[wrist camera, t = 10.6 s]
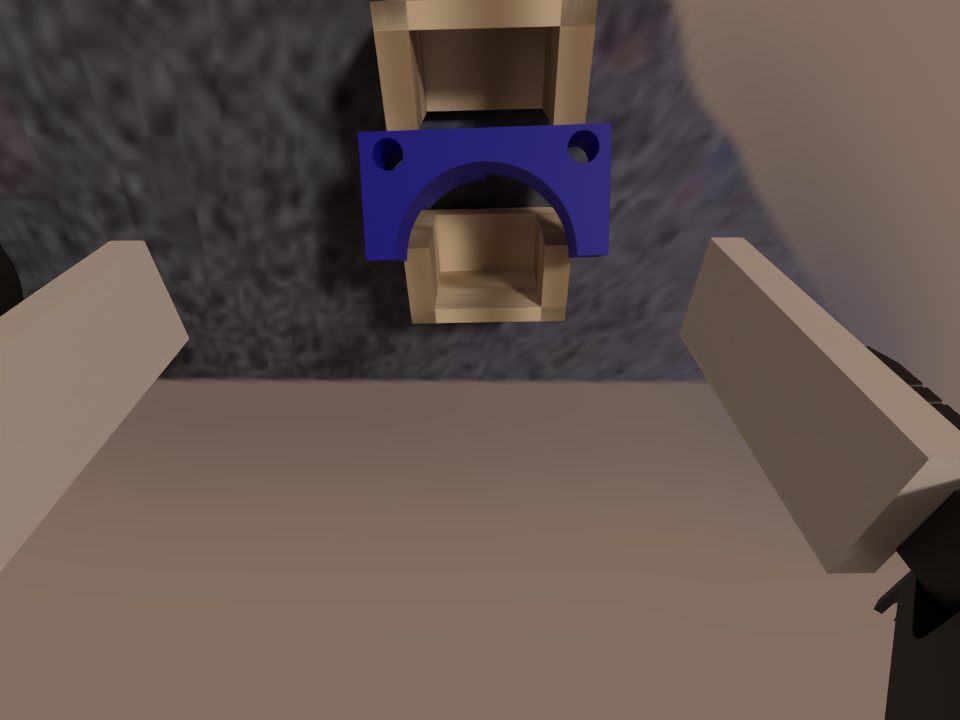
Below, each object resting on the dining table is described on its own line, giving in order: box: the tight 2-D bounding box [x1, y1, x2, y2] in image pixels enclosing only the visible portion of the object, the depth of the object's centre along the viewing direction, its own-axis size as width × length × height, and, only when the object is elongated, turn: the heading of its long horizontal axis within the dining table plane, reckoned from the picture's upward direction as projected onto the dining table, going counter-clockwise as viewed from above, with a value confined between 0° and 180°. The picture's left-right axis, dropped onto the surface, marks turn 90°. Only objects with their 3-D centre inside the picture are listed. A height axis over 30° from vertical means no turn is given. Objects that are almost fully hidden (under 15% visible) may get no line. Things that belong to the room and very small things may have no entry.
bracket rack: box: [370, 0, 598, 324], centre depth 27 cm, size 10×16×6 cm, turn 1°
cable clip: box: [358, 123, 612, 262], centre depth 25 cm, size 12×4×6 cm
